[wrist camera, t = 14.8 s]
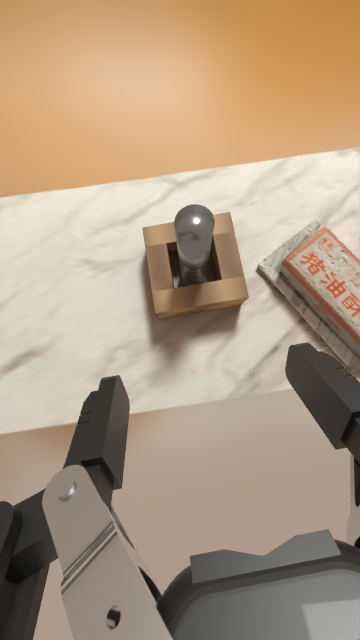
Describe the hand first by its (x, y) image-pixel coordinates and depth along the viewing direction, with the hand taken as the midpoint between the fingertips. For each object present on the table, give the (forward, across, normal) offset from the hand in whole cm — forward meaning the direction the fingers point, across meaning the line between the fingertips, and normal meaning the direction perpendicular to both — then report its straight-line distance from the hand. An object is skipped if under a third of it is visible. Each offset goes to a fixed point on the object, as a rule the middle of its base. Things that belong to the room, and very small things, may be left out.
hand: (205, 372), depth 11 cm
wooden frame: (+22, -2, +3) cm, 22 cm away
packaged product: (+18, -20, +8) cm, 28 cm away
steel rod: (+22, -2, +3) cm, 22 cm away
